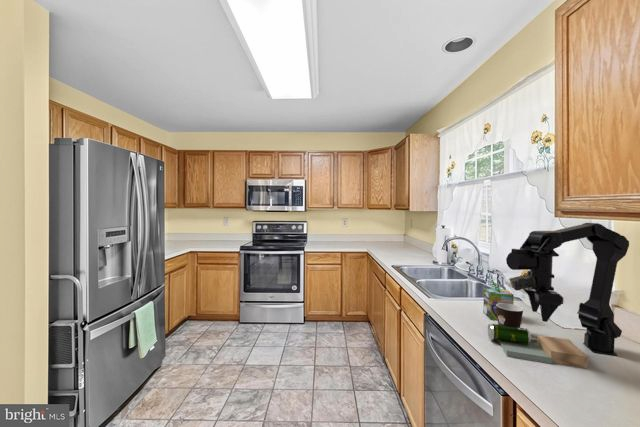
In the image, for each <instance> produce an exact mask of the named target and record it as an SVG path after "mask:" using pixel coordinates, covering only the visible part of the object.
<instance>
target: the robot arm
mask: <svg viewBox="0 0 640 427" xmlns="http://www.w3.org/2000/svg"><path fill="white" fill-rule="evenodd" d="M585 238H586V240H587V241H588V242H590V243H591V244H592V252H593V253H594V256H595V258H596V261H595V267H594V271H593V276H592V278H593V279H592V281H591V288H590V292H589V296H588V297H589V298H588V299H587V300H586V301H585V302H584V303H583V302H580V303H579V305H578V311H577V313H576V314H578V316H577V317H578V320H579V322H580V324H581V327H582V328H584V329H586V332H585V333H583V334H584V336H583V337H584V338H583V345H584V347H586V348H587V349H588V350H590V351H591V352H593V353H598V354H603V355H604V354H606V355H610V356H611V355H612V356H618V354H617V352H615V339H617V338H620V337H622V336H621V335H622V332H623V330H622V329H621V327H619V326H618V325H617V324H616V322H614V321H615V313H614V311H613V310H612V308H611V305H610V303H611V297H612V293H613V292H612V291H613V286H614V282H615V278H616V277H615V276H616V271H617V266H618V262H620V261H621V260H622V259H623V258H624V257H625V256H626V255H627V252H628V250H629V247H630V240H628V238H627V237H626V236H625V235H621V234H620V233H618V232H616V231H614V230H612V229H609V228H607V227H605V225H603V224H601V223H598V222H597V223H595V222H585V223H582V224H578V225H574V226H570V227H565V228H560V229H556V230H533V231H531V232H529V234H528V236H527V238H526V239H525V240H524V242H523V243H522V244H521V245H520V247H519V248H511V251H510V252H509V253H508V254H507V257H506V261H505V262H506V264H507V267H508V268H509V269H510V270H513V271H525V270H527V272H526V274H525V275H519V276H518V275H517V276H514V277H510V278H508V279H509V282H510V285H511V287H512V289H514V291H520V290H523V291H524V293H526V294H527V295H528V298H529V302H530V306H531V311H532V312H533V313H537V311H538V309H539V308H540V314H541V321H543V322H544V323H547V322H548V321H549V319H550V318H551V316H552V315H553V314H554V312H555V311H556V310H558V308H559V307H560V306H562V305H564V296H562V295H561V294H560V293H558V292H557V291H555V287H554V286H552V281H553V280H552V279H555V274H553V260H554V258H553V257H557V258H558V257H560V254H559V253H557V251H555V249H558V248H560V247H561V246H562V245H563V244H565V243H569V242H571V241H576V240H580V239H581V240H582V239H585Z"/></svg>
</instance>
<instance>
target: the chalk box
mask: <svg viewBox="0 0 640 427" xmlns="http://www.w3.org/2000/svg"><path fill="white" fill-rule="evenodd" d="M493 286H494V287H493V288H492V287H491V288H490V287H484V288H483V308H482V309H483V310H482V311H483V313H484V315H486V317H487V318H488V319H489V320H492V321H498V319H497V318H496V316H495V315H494V313H493V311H492V305H496V304H499V303H506V304H512V305H514V302H515V300H514V298H515V297H514V294H513V293H511V292H510V291H509V290H507V289H505V288H500V285H499V284H498V283H497V282H495V281H494V282H493ZM493 310H494V312H495V314H496V315H497V307H496V306H494V308H493Z"/></svg>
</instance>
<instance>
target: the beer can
mask: <svg viewBox="0 0 640 427" xmlns="http://www.w3.org/2000/svg"><path fill="white" fill-rule="evenodd" d="M487 336H488V339H491V340H492V341H498V340H499V341H505V342H512V343H518V344H525V345H529V344H530V343H531V338H532V335H531V332H530V330H529V329H528V328H524V327H520V328H519V327H512V326H505V325H498V323H497V324H496V323H488V324H487ZM499 341H498V342H499Z"/></svg>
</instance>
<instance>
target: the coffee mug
mask: <svg viewBox="0 0 640 427" xmlns="http://www.w3.org/2000/svg"><path fill="white" fill-rule="evenodd" d="M494 306H496V307H497V315H496V314H495V312H494V310H493V308H494ZM492 311H493V313H494V315H495V316H496V318H497V319H498V320H497V325H505V326H512V327H519V328H521V326H522V320H523V319H522V318H523V312H524V308H523V307H521V306H519V305H516V304H513V305H512V304H506V303H499V304H496V305H492Z"/></svg>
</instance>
